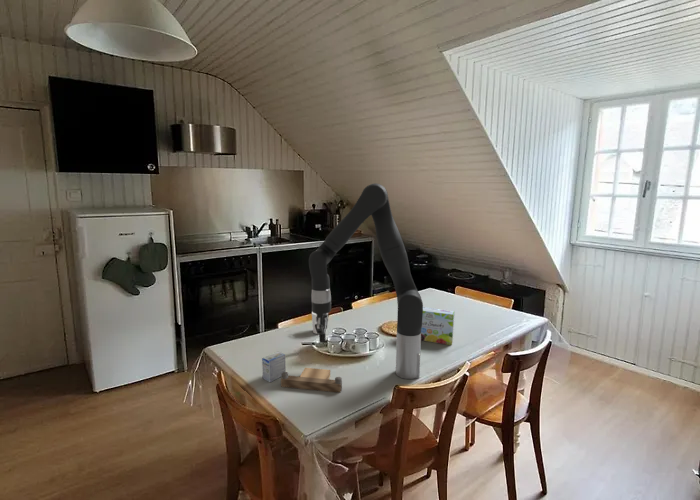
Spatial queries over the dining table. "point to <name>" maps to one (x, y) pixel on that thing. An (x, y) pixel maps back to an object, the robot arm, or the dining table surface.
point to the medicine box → (273, 366)
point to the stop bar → (311, 383)
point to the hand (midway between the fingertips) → (322, 341)
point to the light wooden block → (316, 373)
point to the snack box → (437, 326)
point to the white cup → (315, 322)
